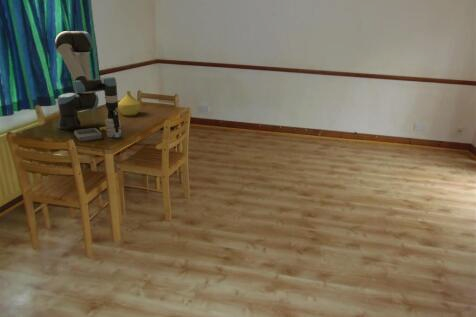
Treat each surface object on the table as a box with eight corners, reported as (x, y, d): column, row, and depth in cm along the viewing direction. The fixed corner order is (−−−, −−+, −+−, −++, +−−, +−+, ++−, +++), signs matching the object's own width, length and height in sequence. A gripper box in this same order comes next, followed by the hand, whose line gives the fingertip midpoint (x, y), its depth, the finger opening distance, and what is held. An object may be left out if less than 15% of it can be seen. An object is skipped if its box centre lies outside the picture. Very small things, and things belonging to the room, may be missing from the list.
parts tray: (74, 134, 246) (73, 130, 245) (95, 132, 254) (95, 127, 253) (80, 141, 234) (79, 137, 233) (102, 138, 242) (102, 133, 240)
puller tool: (101, 131, 257) (100, 128, 256) (99, 129, 259) (99, 127, 259) (112, 129, 261) (112, 127, 261) (111, 128, 264) (111, 126, 263)
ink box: (122, 136, 246) (120, 119, 242) (117, 138, 242) (115, 121, 238) (111, 134, 249) (110, 118, 245) (106, 136, 245) (104, 119, 241)
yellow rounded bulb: (140, 111, 313) (139, 88, 306) (142, 116, 297) (141, 93, 290) (118, 112, 307) (116, 89, 300) (118, 117, 291) (116, 93, 284)
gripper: (100, 99, 244) (104, 131, 252) (111, 105, 227) (114, 140, 235) (112, 98, 248) (115, 130, 256) (123, 104, 231) (125, 138, 239)
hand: (114, 134), depth 245 cm, fingers closed on ink box, 9 cm apart
